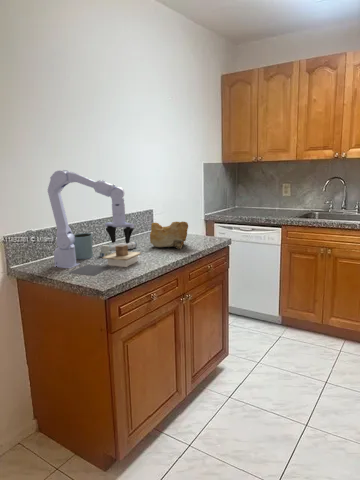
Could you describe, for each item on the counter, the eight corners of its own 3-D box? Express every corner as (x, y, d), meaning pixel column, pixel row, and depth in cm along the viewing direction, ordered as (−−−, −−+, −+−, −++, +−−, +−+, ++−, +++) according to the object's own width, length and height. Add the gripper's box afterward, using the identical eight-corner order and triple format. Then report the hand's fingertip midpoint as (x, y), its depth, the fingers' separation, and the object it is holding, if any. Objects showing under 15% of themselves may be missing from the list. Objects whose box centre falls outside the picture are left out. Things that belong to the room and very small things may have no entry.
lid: (102, 258, 167) (101, 247, 166) (118, 252, 179) (117, 241, 178) (126, 260, 162) (125, 249, 161) (141, 253, 174) (140, 243, 172)
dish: (108, 266, 169) (107, 257, 168) (119, 260, 178) (119, 252, 177) (126, 267, 165) (125, 259, 164) (137, 262, 174) (137, 254, 173)
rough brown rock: (198, 246, 206) (198, 220, 205) (184, 250, 192) (183, 222, 190) (163, 244, 218) (163, 219, 216) (147, 248, 204) (147, 221, 202)
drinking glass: (97, 256, 189) (95, 233, 186) (87, 261, 179) (85, 237, 177) (80, 255, 192) (78, 232, 189) (69, 260, 182) (67, 236, 180)
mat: (67, 273, 159) (67, 272, 159) (87, 265, 171) (87, 264, 171) (93, 276, 153) (93, 275, 153) (112, 268, 166) (112, 266, 165)
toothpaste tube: (137, 241, 203) (104, 244, 182) (137, 253, 204) (104, 257, 183) (130, 240, 206) (97, 243, 185) (130, 252, 206) (97, 256, 186)
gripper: (100, 214, 166) (102, 243, 169) (127, 215, 160) (129, 245, 163) (109, 212, 172) (111, 240, 175) (135, 213, 166) (137, 242, 169)
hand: (120, 242), depth 169 cm, fingers open, 7 cm apart
